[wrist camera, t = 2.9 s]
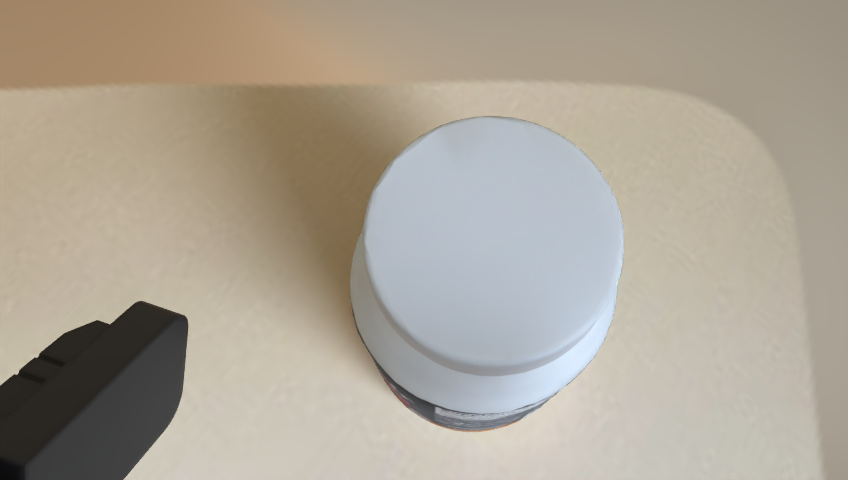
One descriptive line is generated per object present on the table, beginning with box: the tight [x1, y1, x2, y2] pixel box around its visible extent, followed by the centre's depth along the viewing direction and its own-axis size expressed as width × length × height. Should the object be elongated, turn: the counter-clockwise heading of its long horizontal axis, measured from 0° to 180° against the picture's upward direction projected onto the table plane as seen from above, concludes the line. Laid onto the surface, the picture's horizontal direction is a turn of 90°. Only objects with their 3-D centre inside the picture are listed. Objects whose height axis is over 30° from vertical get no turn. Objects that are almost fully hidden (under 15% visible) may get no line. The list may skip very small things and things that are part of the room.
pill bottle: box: [350, 116, 624, 432], centre depth 19 cm, size 6×6×10 cm
